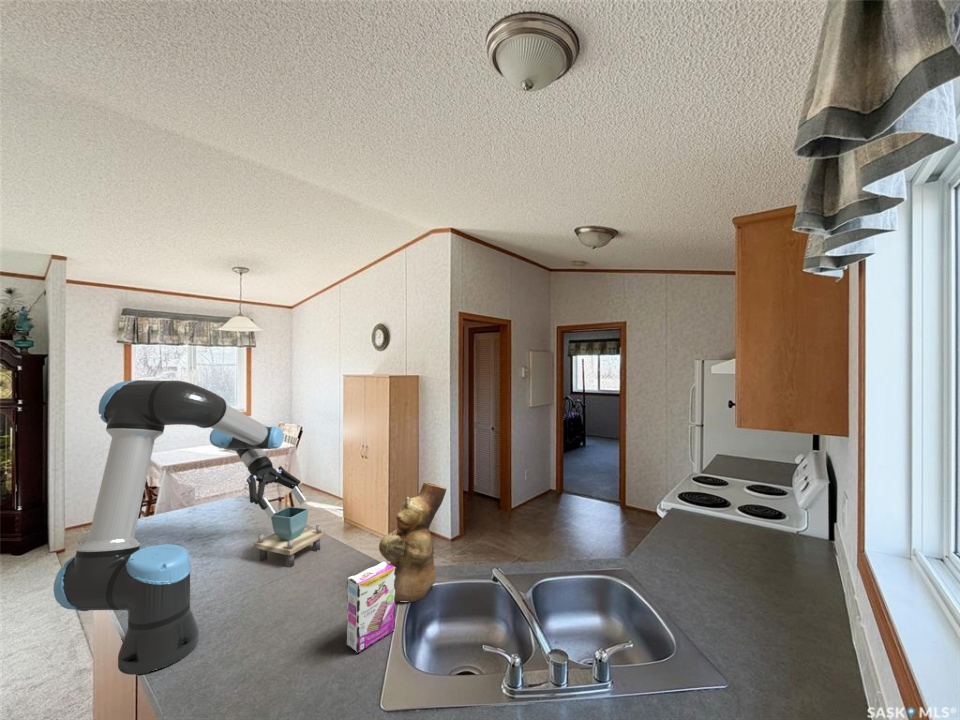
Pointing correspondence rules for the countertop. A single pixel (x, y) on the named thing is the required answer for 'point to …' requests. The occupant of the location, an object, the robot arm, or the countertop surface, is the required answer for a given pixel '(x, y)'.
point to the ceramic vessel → (413, 544)
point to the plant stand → (289, 544)
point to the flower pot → (289, 522)
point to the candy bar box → (370, 605)
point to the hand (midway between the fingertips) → (288, 508)
